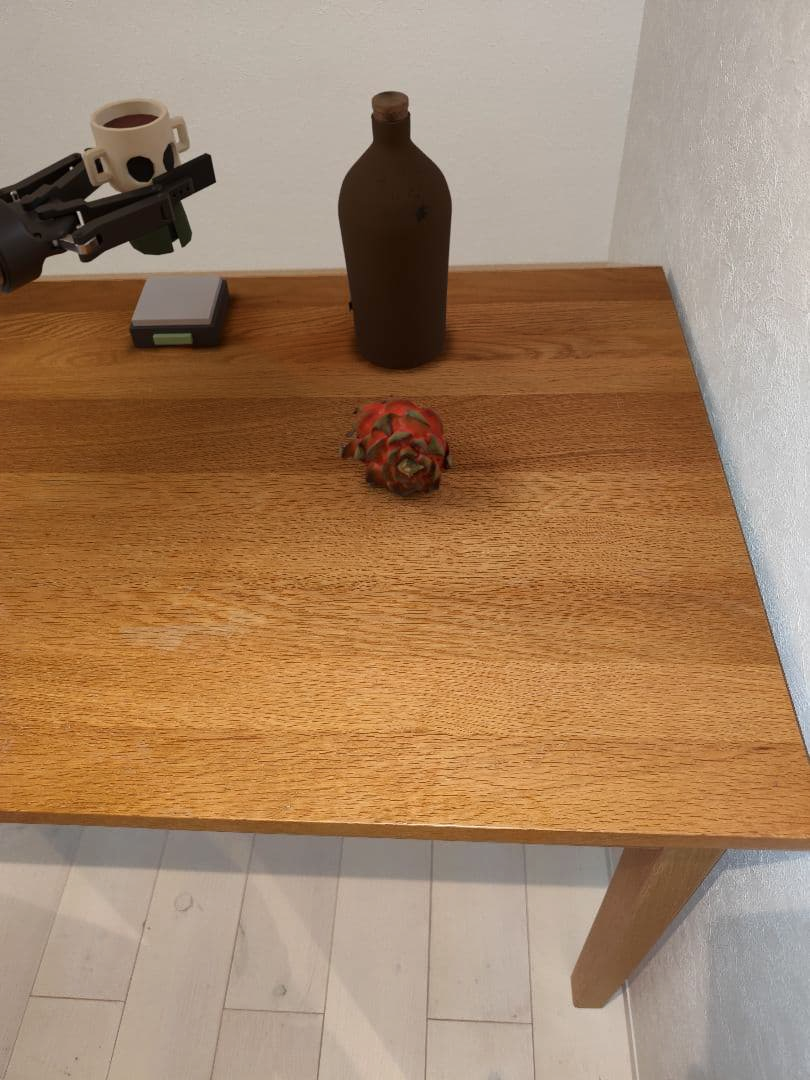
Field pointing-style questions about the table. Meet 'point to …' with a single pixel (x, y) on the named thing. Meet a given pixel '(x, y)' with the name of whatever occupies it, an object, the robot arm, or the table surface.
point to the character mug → (139, 159)
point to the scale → (180, 311)
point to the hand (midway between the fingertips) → (184, 156)
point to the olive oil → (396, 242)
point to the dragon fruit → (399, 446)
